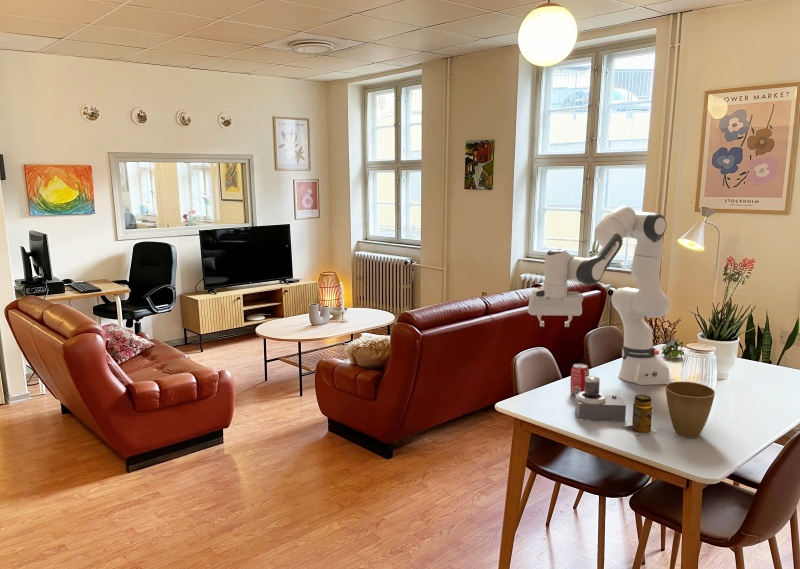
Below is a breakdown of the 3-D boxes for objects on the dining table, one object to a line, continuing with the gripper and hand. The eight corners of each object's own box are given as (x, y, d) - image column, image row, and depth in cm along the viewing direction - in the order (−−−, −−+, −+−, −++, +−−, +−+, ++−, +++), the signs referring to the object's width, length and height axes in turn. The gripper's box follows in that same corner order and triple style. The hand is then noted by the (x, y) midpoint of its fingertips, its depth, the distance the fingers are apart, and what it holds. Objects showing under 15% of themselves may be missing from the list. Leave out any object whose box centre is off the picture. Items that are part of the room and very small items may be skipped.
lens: (597, 397, 222) (598, 376, 220) (599, 402, 217) (600, 380, 215) (583, 396, 222) (584, 376, 221) (585, 401, 217) (586, 380, 216)
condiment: (656, 432, 204) (658, 399, 202) (634, 435, 202) (635, 401, 200) (643, 424, 211) (644, 392, 209) (621, 427, 209) (623, 394, 207)
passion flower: (665, 366, 294) (665, 343, 299) (688, 366, 287) (689, 342, 292) (657, 357, 287) (658, 334, 291) (682, 357, 280) (682, 333, 285)
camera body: (619, 411, 224) (620, 391, 222) (625, 421, 214) (626, 401, 213) (575, 409, 226) (575, 390, 225) (578, 419, 216) (579, 399, 215)
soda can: (586, 391, 245) (587, 363, 243) (590, 397, 238) (591, 368, 236) (568, 391, 246) (569, 362, 244) (571, 397, 239) (572, 368, 237)
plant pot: (657, 424, 211) (659, 381, 208) (701, 425, 209) (704, 381, 206) (671, 442, 196) (674, 396, 193) (719, 444, 194) (722, 396, 192)
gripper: (582, 290, 233) (580, 324, 235) (528, 289, 236) (527, 324, 238) (584, 293, 227) (583, 328, 229) (529, 292, 230) (528, 327, 232)
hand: (554, 326), depth 234 cm, fingers open, 8 cm apart
